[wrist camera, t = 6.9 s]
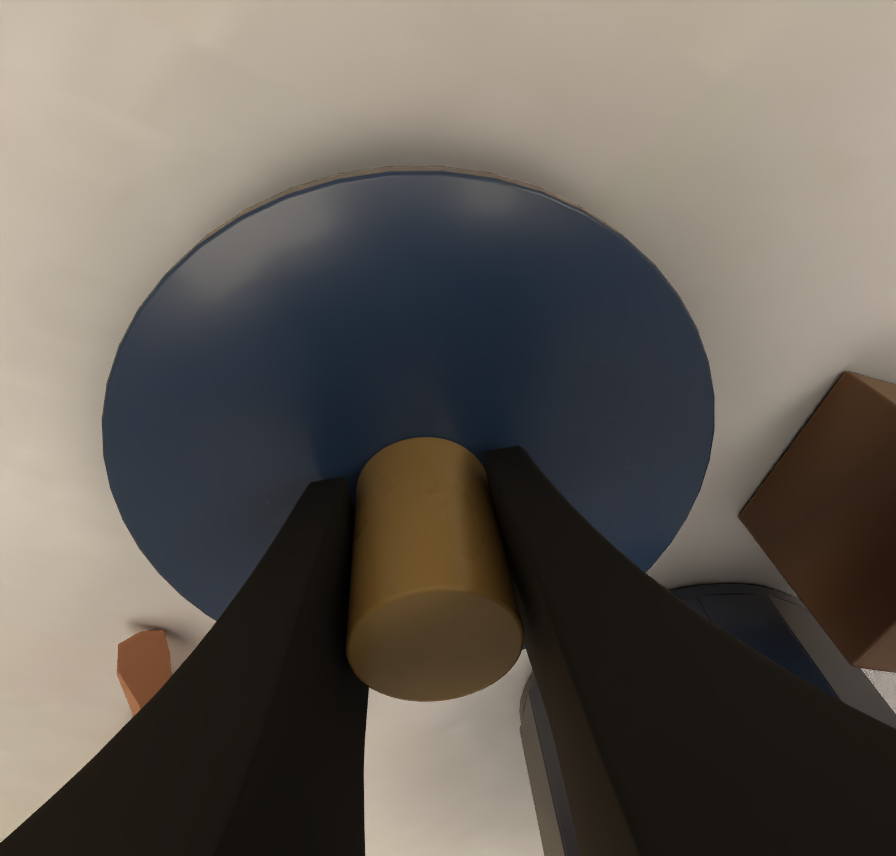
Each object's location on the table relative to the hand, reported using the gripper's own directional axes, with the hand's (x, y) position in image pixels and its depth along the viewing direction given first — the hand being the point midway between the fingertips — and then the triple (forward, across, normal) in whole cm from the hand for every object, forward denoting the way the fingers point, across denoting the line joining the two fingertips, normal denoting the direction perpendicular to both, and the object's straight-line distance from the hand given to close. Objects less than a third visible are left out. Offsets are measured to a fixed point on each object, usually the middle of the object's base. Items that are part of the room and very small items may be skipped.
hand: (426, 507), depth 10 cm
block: (+3, -10, +4) cm, 11 cm away
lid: (+1, 0, 0) cm, 1 cm away
